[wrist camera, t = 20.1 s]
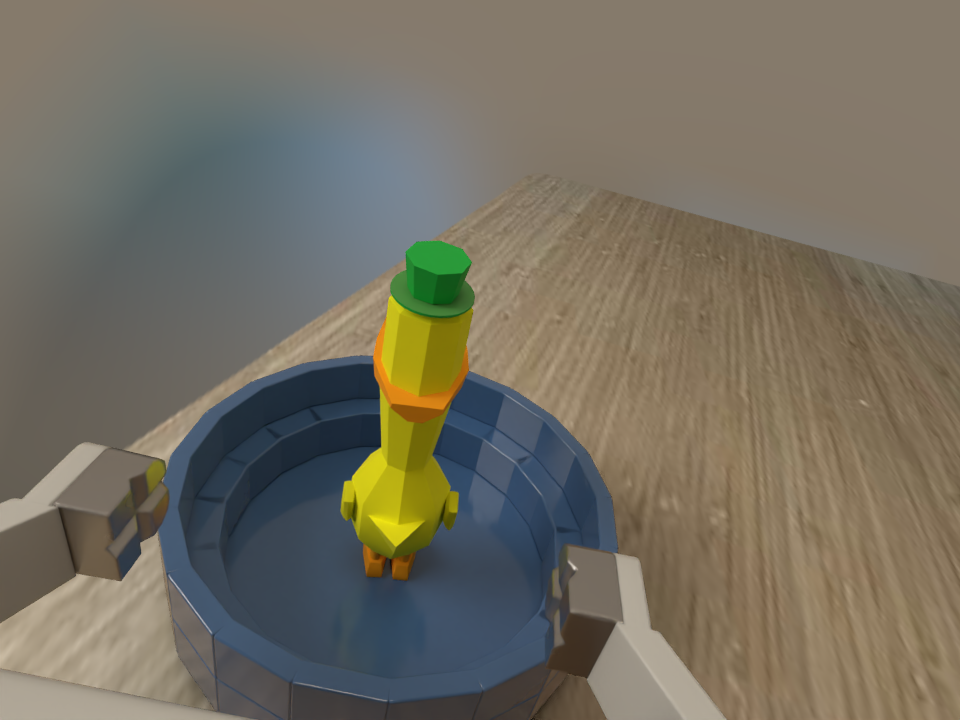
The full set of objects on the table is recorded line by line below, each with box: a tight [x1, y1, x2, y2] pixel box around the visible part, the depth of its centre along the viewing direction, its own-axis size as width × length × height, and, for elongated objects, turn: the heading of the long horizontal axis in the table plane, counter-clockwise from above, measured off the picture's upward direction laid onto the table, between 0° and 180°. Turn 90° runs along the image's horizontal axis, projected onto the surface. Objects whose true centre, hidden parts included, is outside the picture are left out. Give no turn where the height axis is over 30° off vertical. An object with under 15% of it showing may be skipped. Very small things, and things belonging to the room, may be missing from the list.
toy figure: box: [341, 241, 475, 581], centre depth 18 cm, size 7×4×12 cm, turn 3°
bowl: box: [157, 355, 618, 720], centre depth 21 cm, size 14×14×4 cm
